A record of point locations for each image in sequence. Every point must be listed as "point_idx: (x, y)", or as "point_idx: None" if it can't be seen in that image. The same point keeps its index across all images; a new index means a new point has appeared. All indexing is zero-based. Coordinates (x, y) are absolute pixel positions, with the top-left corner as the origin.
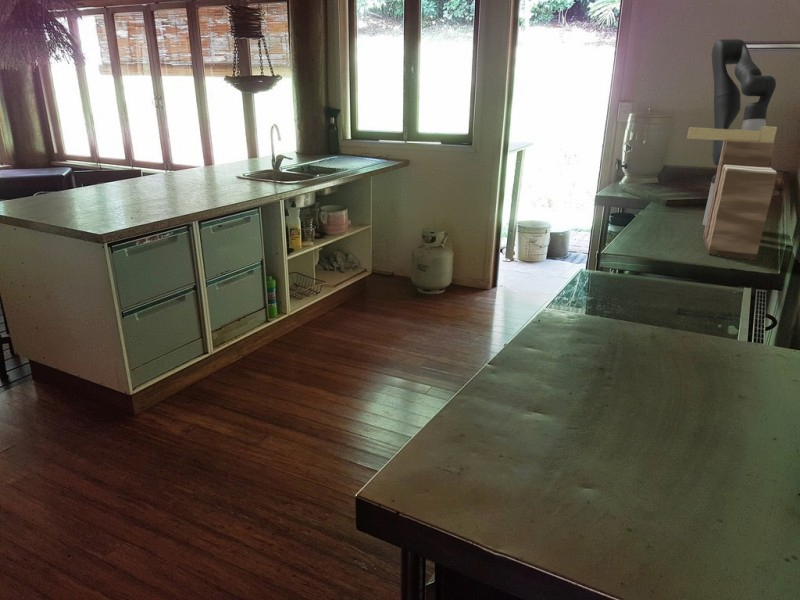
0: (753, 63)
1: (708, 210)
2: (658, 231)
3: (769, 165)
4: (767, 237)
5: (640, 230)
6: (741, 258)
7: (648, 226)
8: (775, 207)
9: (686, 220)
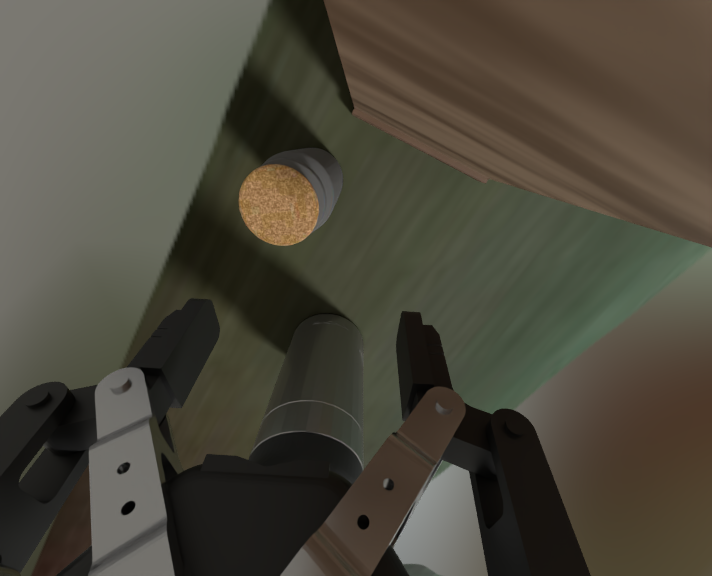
0: None
1: (362, 373)
2: (576, 267)
3: (40, 389)
4: (224, 199)
5: (631, 278)
6: None
7: (557, 330)
8: (59, 518)
9: (378, 400)
